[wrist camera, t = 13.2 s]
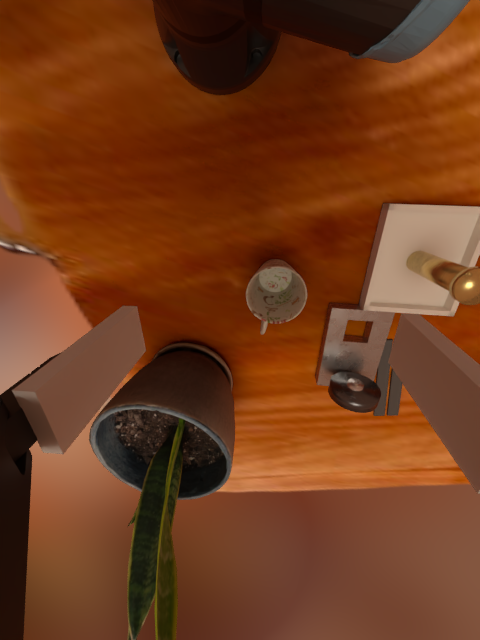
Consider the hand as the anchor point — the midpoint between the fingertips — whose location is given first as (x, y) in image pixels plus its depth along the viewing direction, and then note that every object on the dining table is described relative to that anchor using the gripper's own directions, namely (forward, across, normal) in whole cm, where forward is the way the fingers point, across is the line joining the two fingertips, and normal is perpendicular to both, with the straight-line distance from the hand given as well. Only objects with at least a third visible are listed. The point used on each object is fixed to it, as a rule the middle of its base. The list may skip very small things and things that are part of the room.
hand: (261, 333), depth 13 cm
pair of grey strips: (+32, +24, -27) cm, 48 cm away
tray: (+32, +23, -4) cm, 40 cm away
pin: (+32, +23, -4) cm, 39 cm away
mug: (+32, +1, -8) cm, 34 cm away
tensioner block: (+32, +15, -19) cm, 40 cm away
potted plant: (+32, -15, -29) cm, 46 cm away
